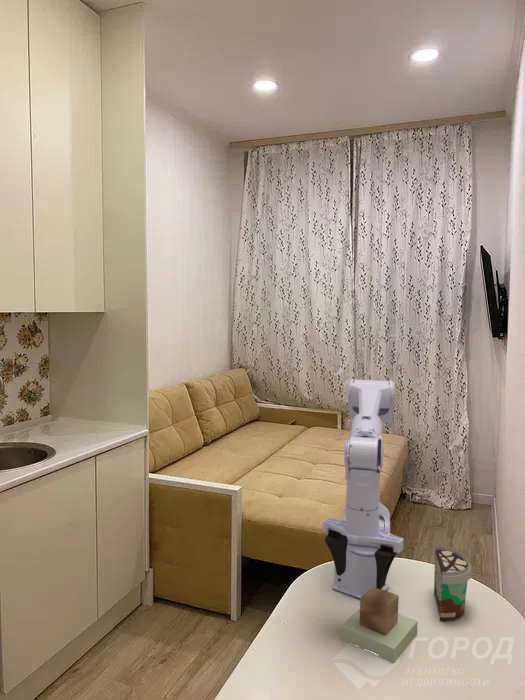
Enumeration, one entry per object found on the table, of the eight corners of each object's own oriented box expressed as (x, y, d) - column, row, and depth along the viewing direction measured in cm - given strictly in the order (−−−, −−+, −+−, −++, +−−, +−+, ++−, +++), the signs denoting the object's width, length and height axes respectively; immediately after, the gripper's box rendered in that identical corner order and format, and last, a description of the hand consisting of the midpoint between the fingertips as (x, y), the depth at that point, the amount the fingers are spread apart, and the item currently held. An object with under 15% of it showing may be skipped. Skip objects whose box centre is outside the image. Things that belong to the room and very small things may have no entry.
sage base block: (340, 642, 94) (340, 626, 93) (366, 616, 101) (366, 601, 101) (393, 666, 87) (394, 649, 87) (416, 636, 95) (417, 621, 95)
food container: (475, 629, 97) (478, 577, 96) (440, 625, 98) (442, 573, 97) (464, 594, 109) (466, 547, 108) (433, 590, 110) (434, 544, 109)
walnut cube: (359, 624, 94) (360, 597, 93) (371, 612, 98) (372, 586, 97) (385, 635, 91) (386, 607, 90) (397, 622, 95) (398, 595, 94)
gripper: (315, 502, 94) (313, 576, 95) (393, 522, 85) (390, 603, 86) (334, 491, 99) (332, 561, 100) (409, 509, 91) (406, 585, 92)
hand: (360, 579), depth 94 cm, fingers open, 7 cm apart
